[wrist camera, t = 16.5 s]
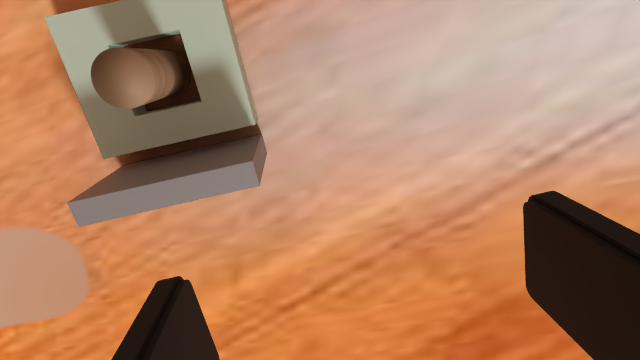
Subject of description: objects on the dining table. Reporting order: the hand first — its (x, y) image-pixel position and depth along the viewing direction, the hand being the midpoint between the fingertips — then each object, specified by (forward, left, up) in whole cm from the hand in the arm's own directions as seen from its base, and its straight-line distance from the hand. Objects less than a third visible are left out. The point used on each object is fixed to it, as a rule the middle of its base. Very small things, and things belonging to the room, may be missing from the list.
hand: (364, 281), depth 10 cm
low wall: (+12, +2, -28) cm, 31 cm away
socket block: (+12, -7, -28) cm, 32 cm away
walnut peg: (+12, -7, -28) cm, 31 cm away
